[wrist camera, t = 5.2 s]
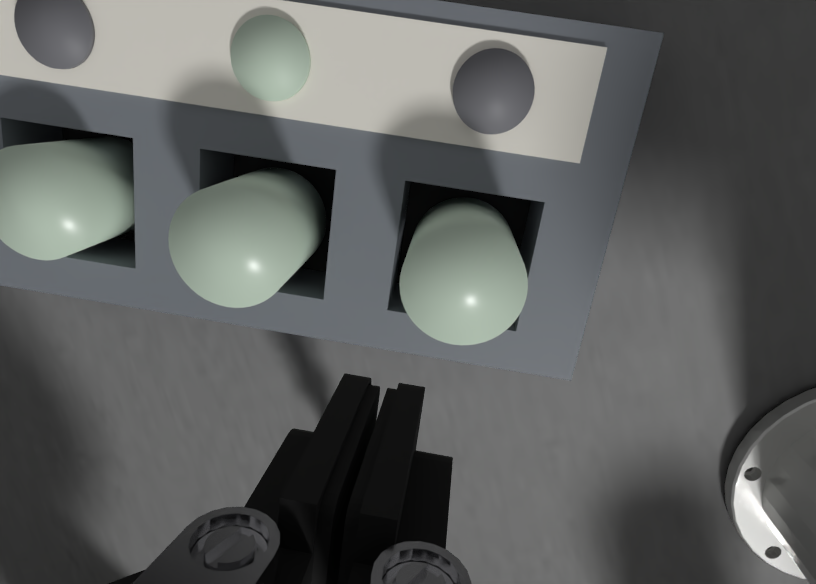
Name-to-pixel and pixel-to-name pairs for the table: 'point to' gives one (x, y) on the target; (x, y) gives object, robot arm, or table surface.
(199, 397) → the table surface
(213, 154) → the board
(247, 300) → the button middle
